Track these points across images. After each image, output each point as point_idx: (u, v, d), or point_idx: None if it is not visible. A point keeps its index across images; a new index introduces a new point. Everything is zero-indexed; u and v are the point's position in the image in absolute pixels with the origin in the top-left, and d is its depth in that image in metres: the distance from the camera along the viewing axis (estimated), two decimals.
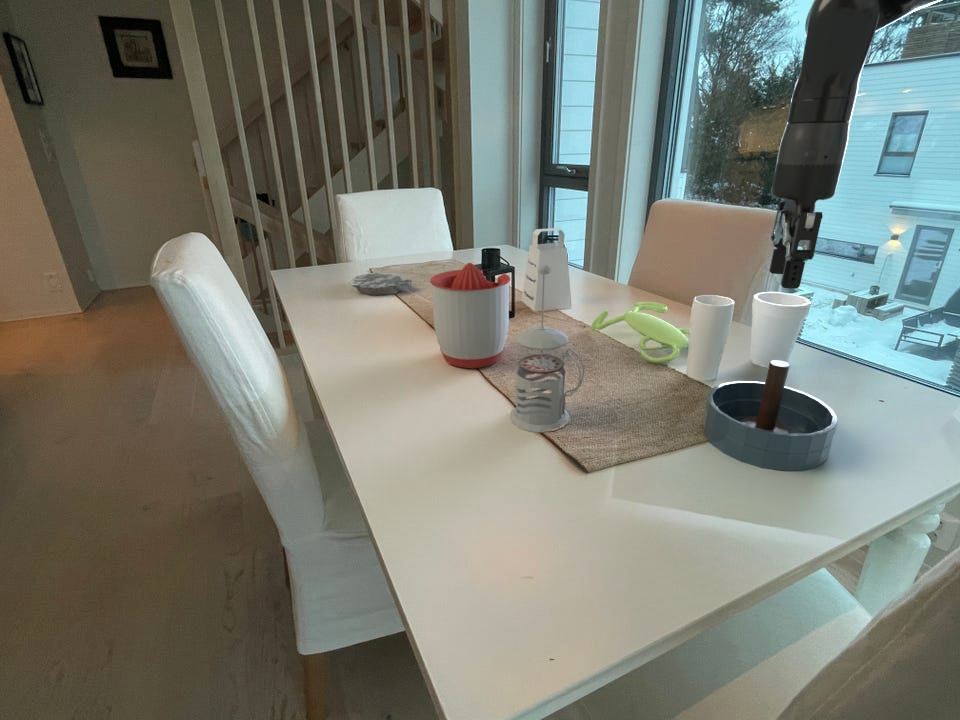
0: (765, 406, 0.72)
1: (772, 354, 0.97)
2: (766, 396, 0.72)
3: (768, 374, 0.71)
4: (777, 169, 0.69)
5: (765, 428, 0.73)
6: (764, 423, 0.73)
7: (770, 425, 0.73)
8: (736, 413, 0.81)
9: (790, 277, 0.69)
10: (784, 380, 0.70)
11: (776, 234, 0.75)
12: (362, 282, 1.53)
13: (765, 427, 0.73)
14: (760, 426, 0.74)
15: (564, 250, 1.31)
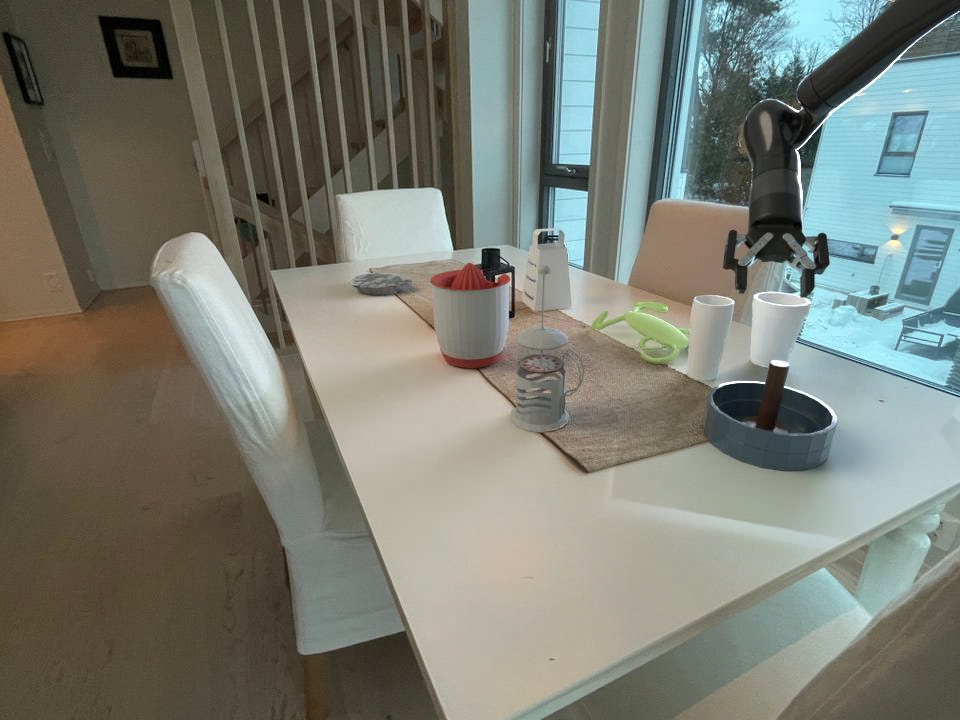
0: (765, 406, 0.72)
1: (772, 354, 0.97)
2: (766, 396, 0.72)
3: (768, 374, 0.71)
4: None
5: (765, 428, 0.73)
6: (764, 423, 0.73)
7: (770, 425, 0.73)
8: (736, 413, 0.81)
9: (735, 282, 0.80)
10: (784, 380, 0.70)
11: (791, 265, 0.80)
12: (362, 282, 1.53)
13: (765, 427, 0.73)
14: (760, 426, 0.74)
15: (564, 250, 1.31)
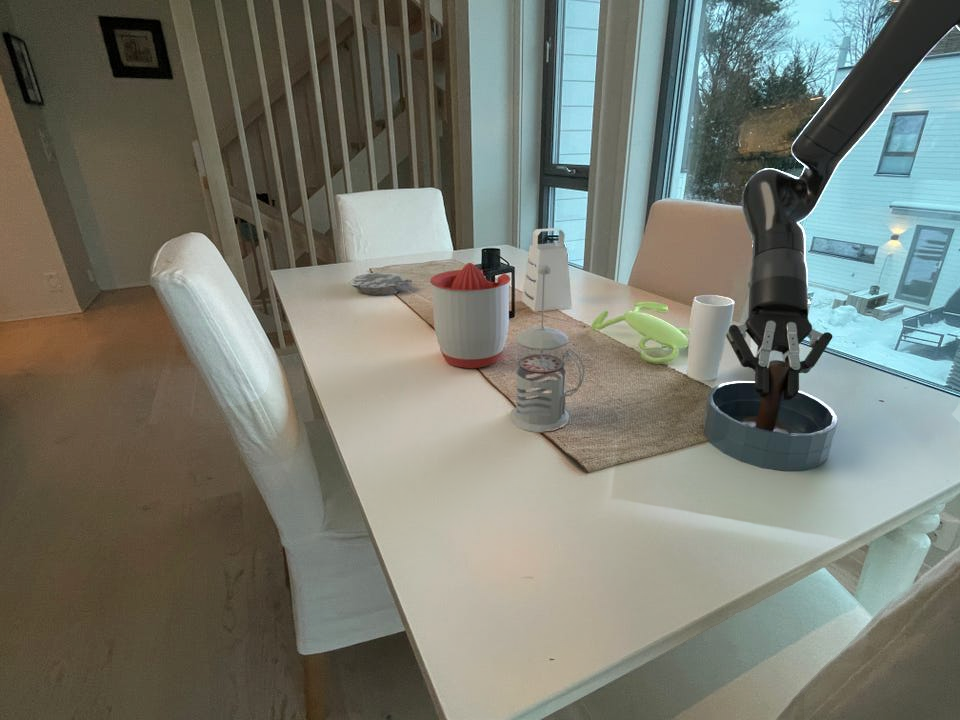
0: (765, 406, 0.72)
1: (772, 354, 0.97)
2: (766, 396, 0.72)
3: None
4: None
5: (765, 428, 0.73)
6: (764, 423, 0.73)
7: (770, 425, 0.73)
8: (736, 413, 0.81)
9: (755, 384, 0.72)
10: (784, 380, 0.70)
11: (782, 356, 0.73)
12: (362, 282, 1.53)
13: (765, 427, 0.73)
14: (760, 426, 0.74)
15: (564, 250, 1.31)
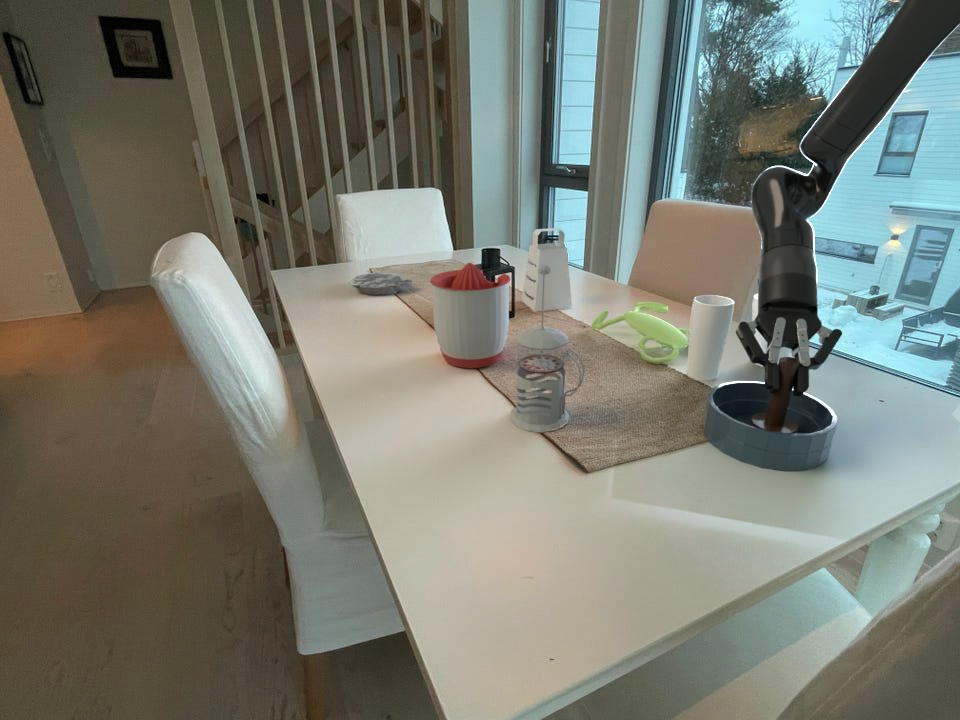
0: (775, 402, 0.73)
1: None
2: (776, 392, 0.72)
3: None
4: None
5: (774, 424, 0.74)
6: (774, 419, 0.73)
7: (779, 421, 0.73)
8: (736, 413, 0.81)
9: (765, 380, 0.72)
10: (794, 376, 0.71)
11: (792, 353, 0.74)
12: (362, 282, 1.53)
13: (774, 423, 0.74)
14: (769, 422, 0.74)
15: (564, 250, 1.31)
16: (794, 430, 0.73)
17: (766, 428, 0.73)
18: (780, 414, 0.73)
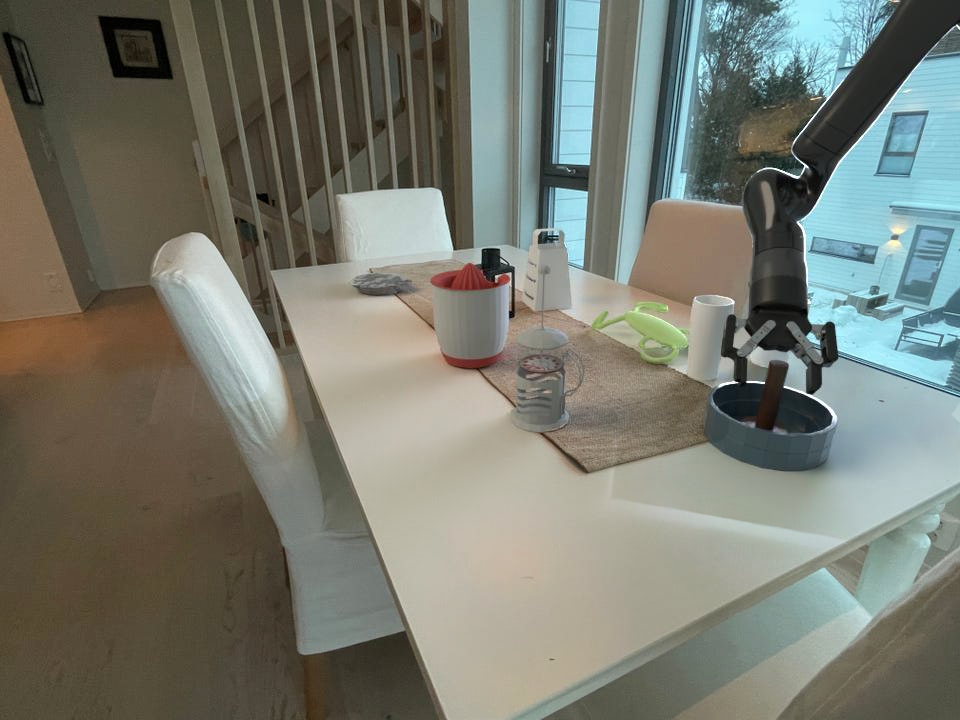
0: (765, 406, 0.72)
1: (772, 354, 0.97)
2: (766, 395, 0.72)
3: (768, 374, 0.71)
4: None
5: (765, 427, 0.73)
6: (764, 423, 0.73)
7: (769, 425, 0.73)
8: (736, 413, 0.81)
9: (734, 374, 0.73)
10: (784, 380, 0.70)
11: (795, 355, 0.73)
12: (362, 282, 1.53)
13: (764, 426, 0.73)
14: (760, 426, 0.74)
15: (564, 250, 1.31)
16: None
17: None
18: (770, 417, 0.73)
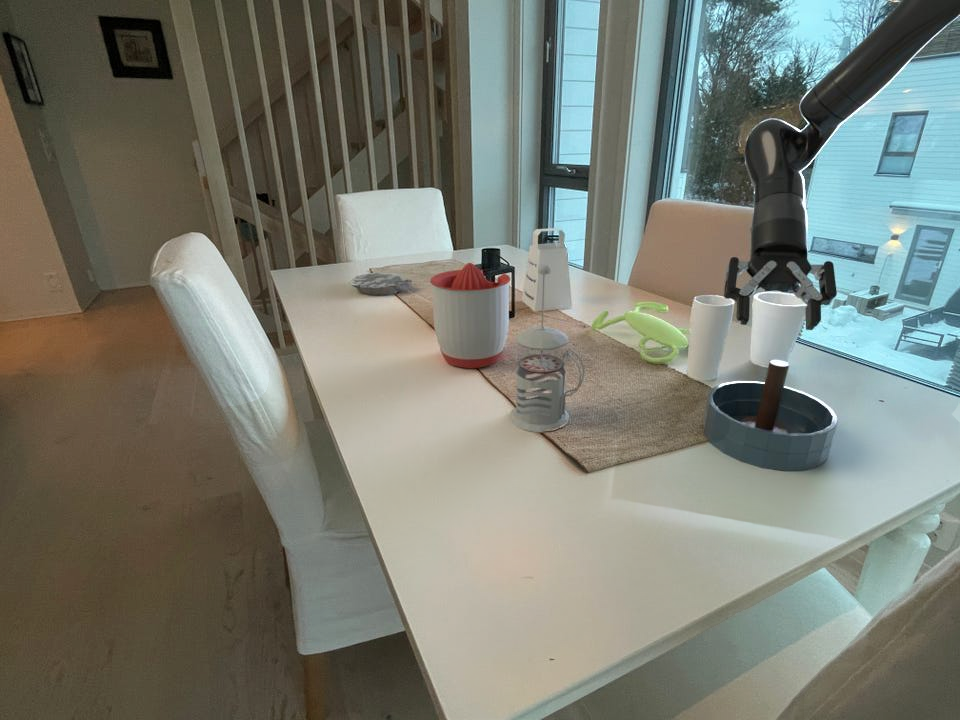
0: (765, 406, 0.72)
1: (772, 354, 0.97)
2: (766, 395, 0.72)
3: (768, 374, 0.71)
4: None
5: (765, 427, 0.73)
6: (764, 423, 0.73)
7: (769, 425, 0.73)
8: (736, 413, 0.81)
9: (736, 313, 0.76)
10: (784, 380, 0.70)
11: (795, 294, 0.76)
12: (362, 282, 1.53)
13: (764, 426, 0.73)
14: (760, 426, 0.74)
15: (564, 250, 1.31)
16: None
17: None
18: (770, 417, 0.73)
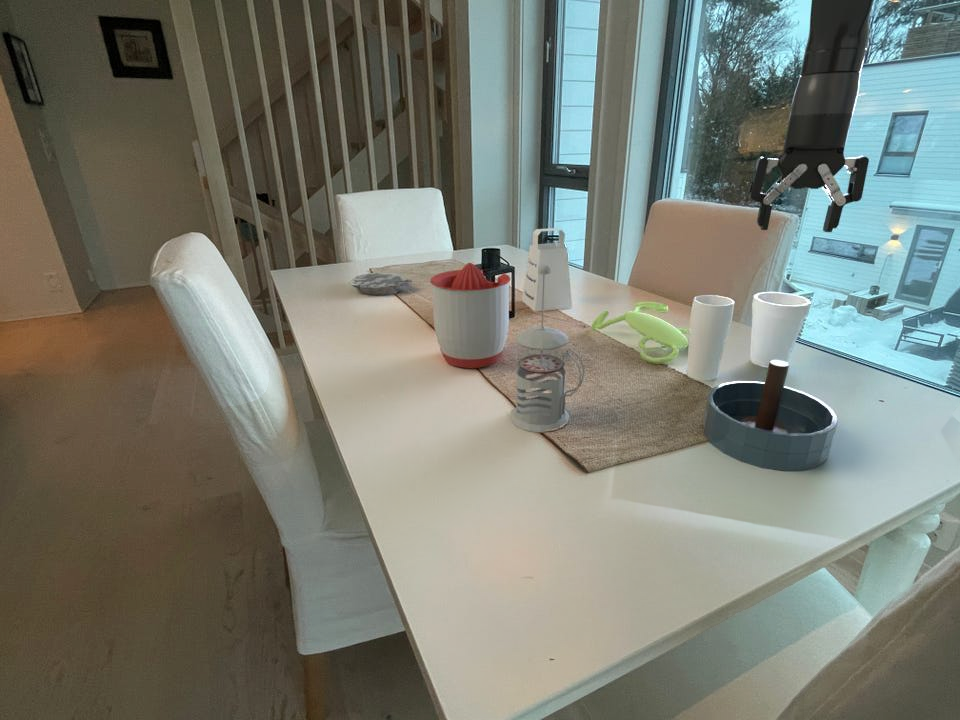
0: (765, 406, 0.72)
1: (772, 354, 0.97)
2: (766, 395, 0.72)
3: (768, 374, 0.71)
4: None
5: (765, 427, 0.73)
6: (764, 423, 0.73)
7: (769, 425, 0.73)
8: (736, 413, 0.81)
9: None
10: (784, 380, 0.70)
11: (823, 188, 0.76)
12: (362, 282, 1.53)
13: (764, 426, 0.73)
14: (760, 426, 0.74)
15: (564, 250, 1.31)
16: None
17: None
18: (770, 417, 0.73)
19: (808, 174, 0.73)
